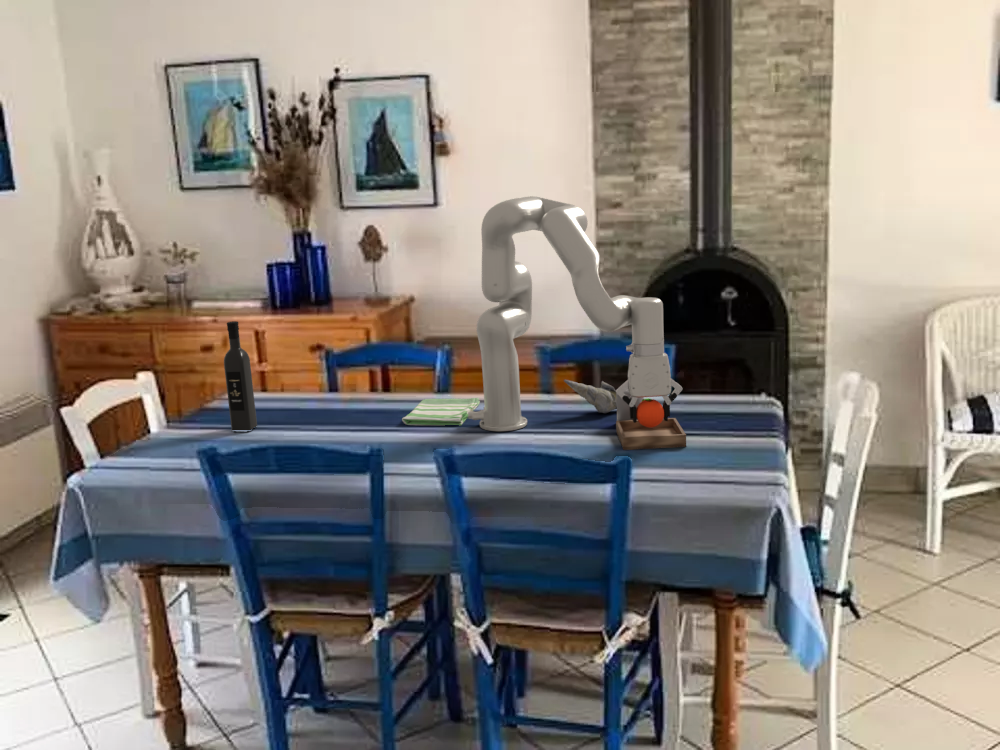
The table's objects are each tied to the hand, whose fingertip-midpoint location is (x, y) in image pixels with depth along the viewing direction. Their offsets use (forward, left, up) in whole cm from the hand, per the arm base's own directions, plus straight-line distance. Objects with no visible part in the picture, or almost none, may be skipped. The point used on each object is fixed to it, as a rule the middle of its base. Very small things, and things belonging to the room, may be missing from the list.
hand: (649, 419), depth 251 cm
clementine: (0, 0, -2) cm, 2 cm away
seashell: (-10, +28, -5) cm, 30 cm away
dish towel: (-53, +34, -6) cm, 64 cm away
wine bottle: (-107, +29, -5) cm, 111 cm away
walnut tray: (0, 0, -5) cm, 5 cm away
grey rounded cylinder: (-3, +15, -5) cm, 16 cm away
